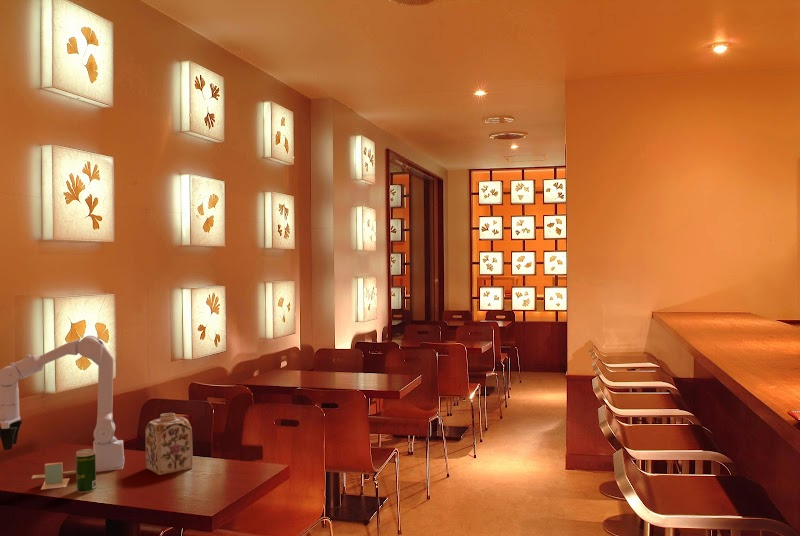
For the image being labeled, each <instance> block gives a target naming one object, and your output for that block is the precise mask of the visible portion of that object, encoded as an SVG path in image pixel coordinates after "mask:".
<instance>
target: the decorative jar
mask: <svg viewBox="0 0 800 536" xmlns="http://www.w3.org/2000/svg"><path fill="white" fill-rule="evenodd" d="M159 416H160V417H159V418H155V419H153V420H151V421H149V422H148V423H147V425H146V426H145V429H144V430H145V465H146V469H147V470H149V471H151V472H153V473H154V474H157V475H159V476H162V475H168V474H173V473H177V472H181V471H182V472H183V471H189V470H191V469H193V466H194V465H193V461H194V459H193V457H194V456H193V452H194V451H193V430H192V426H191V423H190V422H189V419H187V418H186V417H182V416H181V417H180V416H176V413H174V412H167V413H161V414H160V415H159Z"/></svg>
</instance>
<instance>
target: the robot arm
mask: <svg viewBox="0 0 800 536" xmlns="http://www.w3.org/2000/svg"><path fill="white" fill-rule="evenodd" d="M68 355H71V356H77V355H80V356H81V357H83V358H86V359H88V360H91V361H92V362H93V363H94V364H96V365H97V367H98V374H97V377H98V378H97V381H98V382H97V415H96V416H97V418H96V425H95V428H94V429H93V434H92V435H93V438H94V440H93V444H92V445H93V448H92V449H94V450H95V451H94V452H95V455H96V473H99V472H108V471H117V470H123V469H124V466H125V462H126V461H125V458H126V457H125V453H124V452H125V451H124V450H125V449H124V440H123V439H120V440H119V439H118V438H117V437H116V436H115V431H116V429H117V428H116V424H115V422H114V418H113V417H114V416H113V415H114V414H113V407H114V406H113V401H114V399H113V398H114V394H113V393H114V392H113V391H114V357H113V355H112V354H111V353H110V351H109V350H108V348H107V347H106V346H105V344H104V342H103V341H102V340H101V339H99V338H98V337H96V336H95V335H86V336H84V337H83V338H77V339H75V340H71V341H68V342H66V343H64V344H62V345H59V346H58V347H56V348H54V349H52V350H50V351H47V352H46V353H43V354H41V355H37V354H30V353H29V354H27V355H24V358H23V359H21V360H18V361H16V362H14V361H13V362H10V363H9V364H10V365H7V366H5V367H3V368H0V441H1V445H2V448H3V451H9V450H13V445H17V442H18V437H19V432H20V427H21V426H22V423H23V420H22V419H21V416H20V414H21V413H20V395H19V394H20V389H19V380H23V379H26V378H27V377H30V376H32V375H34V374H36V373H39V372H40V371H42V370H43V368H44V366H45V365H47V364H49V363H52V362H53V361H56V360H59V359H60V358H63V357H65V356H68Z"/></svg>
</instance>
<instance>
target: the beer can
mask: <svg viewBox="0 0 800 536" xmlns="http://www.w3.org/2000/svg"><path fill="white" fill-rule="evenodd" d="M94 451H95V450H94V449H93V448H84V449H80V450H77V451H76V452H75V453H76V454H75V476H76V477H75V478H76V483H75V484H76V491H77V493H78V494H87V493H92V492H94V491H96V489H97V472H96V455H95V452H94Z"/></svg>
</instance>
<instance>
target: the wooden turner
mask: <svg viewBox="0 0 800 536" xmlns="http://www.w3.org/2000/svg"><path fill="white" fill-rule="evenodd" d="M67 475H68V476H69V475H76V470H70V471H63V476H67ZM38 479H45V473H44V474H43V473H42V474H36V475H35V474H33V475H32V476H31V479H30V480H38Z"/></svg>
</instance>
